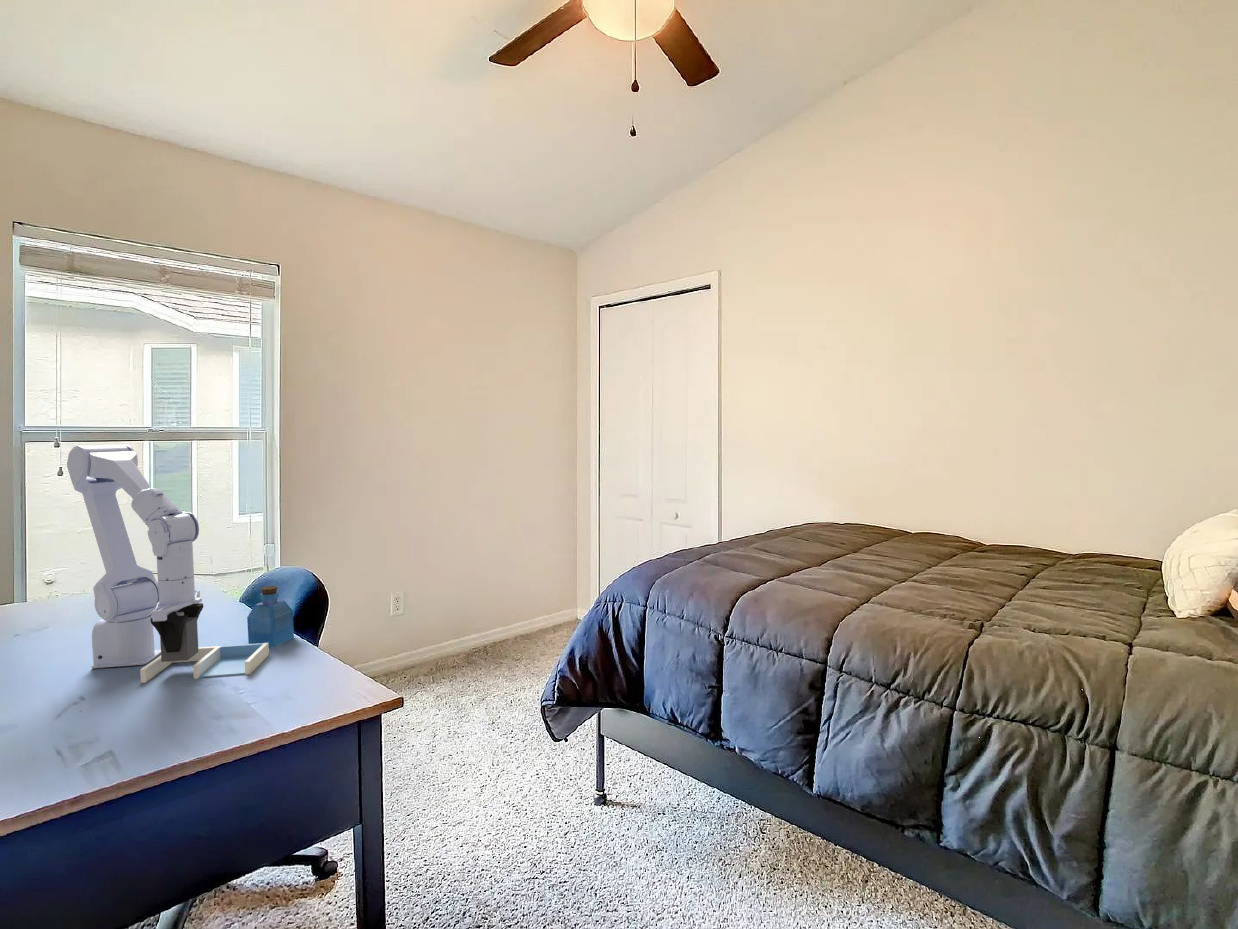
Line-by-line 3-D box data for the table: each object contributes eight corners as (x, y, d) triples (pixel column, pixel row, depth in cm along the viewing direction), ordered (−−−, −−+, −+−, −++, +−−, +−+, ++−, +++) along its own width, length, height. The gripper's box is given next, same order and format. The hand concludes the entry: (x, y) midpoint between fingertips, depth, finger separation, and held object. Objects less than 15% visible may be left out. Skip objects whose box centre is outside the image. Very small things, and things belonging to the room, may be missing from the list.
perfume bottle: (273, 647, 138) (271, 591, 137) (248, 645, 139) (245, 590, 138) (293, 637, 144) (291, 584, 143) (269, 636, 145) (267, 583, 144)
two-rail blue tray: (140, 682, 119) (140, 669, 119) (169, 661, 130) (168, 649, 129) (249, 674, 123) (249, 661, 122) (269, 654, 133) (268, 642, 133)
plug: (161, 662, 122) (159, 617, 121) (172, 653, 126) (170, 610, 125) (187, 660, 122) (185, 616, 122) (198, 651, 127) (196, 609, 126)
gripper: (181, 585, 117) (185, 659, 118) (215, 567, 131) (218, 633, 132) (137, 587, 116) (141, 662, 116) (176, 569, 130) (179, 635, 131)
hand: (179, 647), depth 124 cm, fingers closed on plug, 4 cm apart
